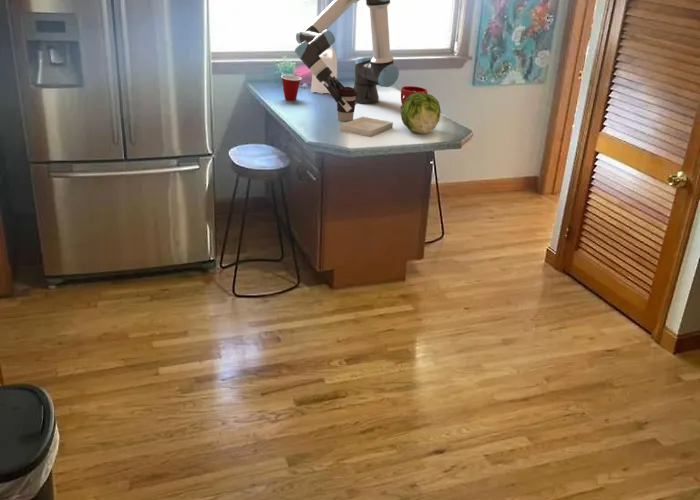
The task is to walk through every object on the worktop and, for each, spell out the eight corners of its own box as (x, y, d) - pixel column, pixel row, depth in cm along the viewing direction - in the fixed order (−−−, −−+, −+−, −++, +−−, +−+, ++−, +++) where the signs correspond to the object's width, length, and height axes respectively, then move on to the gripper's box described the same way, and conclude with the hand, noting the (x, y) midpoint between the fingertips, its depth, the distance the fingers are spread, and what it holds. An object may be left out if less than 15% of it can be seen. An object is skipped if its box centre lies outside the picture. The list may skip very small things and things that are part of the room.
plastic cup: (298, 102, 375) (298, 79, 370) (278, 100, 376) (278, 77, 372) (303, 98, 384) (304, 75, 380) (284, 96, 386) (284, 73, 381)
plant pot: (403, 115, 361) (405, 91, 356) (396, 109, 372) (398, 85, 368) (428, 115, 364) (431, 91, 359) (420, 109, 375) (422, 85, 370)
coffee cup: (358, 118, 350) (360, 87, 344) (351, 123, 341) (353, 91, 335) (339, 116, 352) (340, 85, 346) (332, 120, 344) (333, 88, 338)
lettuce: (403, 121, 315) (440, 98, 313) (388, 99, 334) (423, 77, 332) (421, 151, 326) (456, 129, 324) (405, 129, 345) (439, 108, 342)
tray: (362, 122, 343) (362, 116, 342) (392, 128, 336) (392, 122, 335) (340, 130, 328) (340, 124, 326) (370, 136, 320) (371, 130, 319)
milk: (337, 90, 408) (339, 42, 397) (331, 94, 397) (333, 45, 387) (316, 88, 410) (317, 41, 399) (310, 92, 400) (312, 43, 389)
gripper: (321, 72, 352) (351, 107, 355) (308, 80, 332) (340, 118, 335) (332, 62, 349) (363, 98, 352) (320, 69, 329) (352, 107, 332)
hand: (352, 107), depth 344 cm, fingers closed on coffee cup, 10 cm apart
